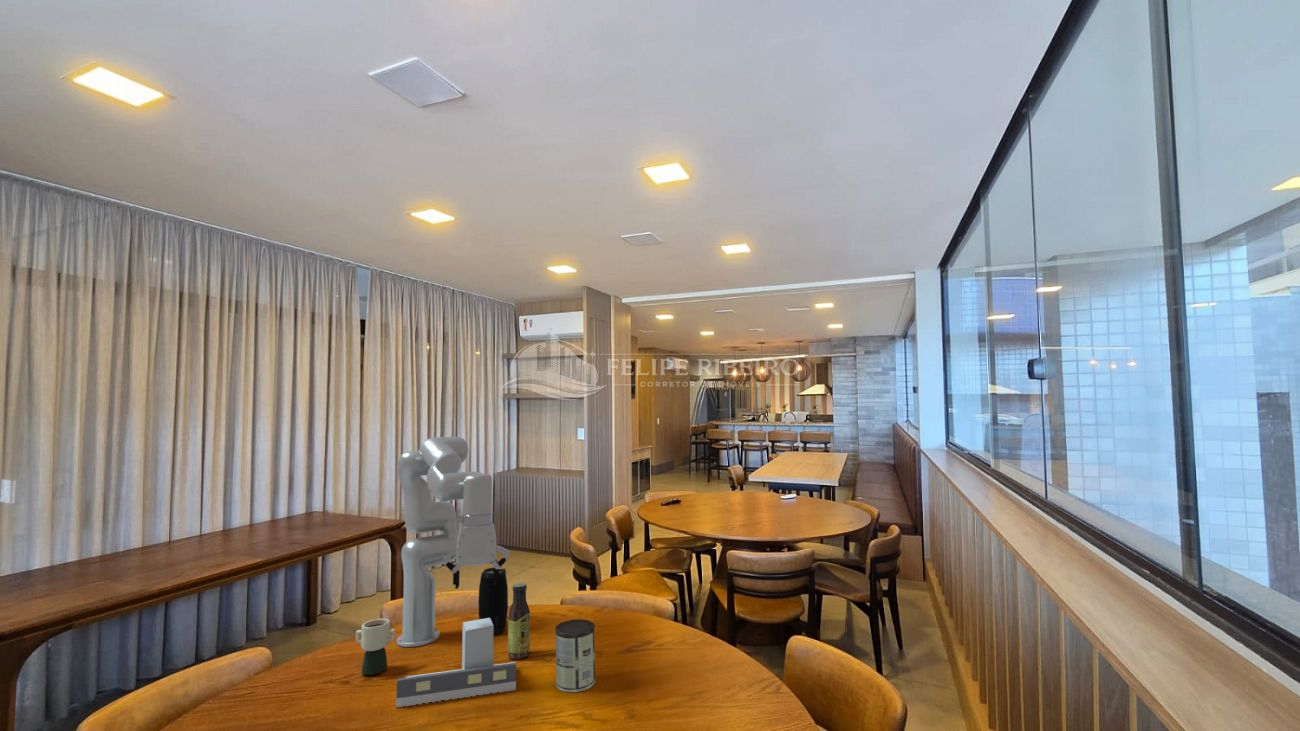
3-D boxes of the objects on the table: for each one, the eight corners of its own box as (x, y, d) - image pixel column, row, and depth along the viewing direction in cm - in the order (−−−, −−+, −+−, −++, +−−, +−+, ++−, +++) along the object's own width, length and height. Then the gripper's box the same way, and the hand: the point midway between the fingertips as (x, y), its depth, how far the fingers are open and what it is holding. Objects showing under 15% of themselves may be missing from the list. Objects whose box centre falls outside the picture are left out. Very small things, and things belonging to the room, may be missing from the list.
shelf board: (405, 684, 138) (405, 675, 138) (515, 669, 145) (515, 661, 145) (395, 707, 126) (396, 697, 126) (515, 689, 133) (515, 680, 133)
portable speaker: (480, 628, 176) (481, 567, 179) (509, 626, 177) (509, 566, 180) (476, 638, 168) (476, 574, 170) (506, 635, 169) (506, 572, 171)
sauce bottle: (524, 661, 150) (524, 588, 152) (503, 660, 151) (504, 588, 153) (533, 651, 156) (533, 582, 158) (514, 650, 157) (514, 581, 160)
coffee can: (567, 671, 142) (566, 617, 144) (601, 676, 139) (601, 620, 141) (547, 689, 133) (547, 631, 134) (584, 695, 129) (583, 635, 131)
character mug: (400, 665, 149) (401, 617, 151) (388, 677, 142) (389, 626, 144) (361, 666, 149) (363, 619, 150) (347, 678, 142) (349, 628, 143)
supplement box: (493, 676, 136) (494, 625, 137) (463, 683, 133) (464, 630, 134) (490, 665, 142) (490, 616, 144) (461, 671, 140) (462, 621, 141)
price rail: (397, 696, 128) (397, 678, 128) (515, 679, 135) (515, 662, 135) (396, 698, 126) (396, 681, 127) (515, 681, 133) (515, 664, 134)
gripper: (441, 524, 137) (440, 592, 135) (510, 520, 141) (509, 586, 139) (445, 520, 144) (443, 584, 142) (510, 516, 149) (509, 578, 147)
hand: (476, 585), depth 141 cm, fingers open, 9 cm apart
